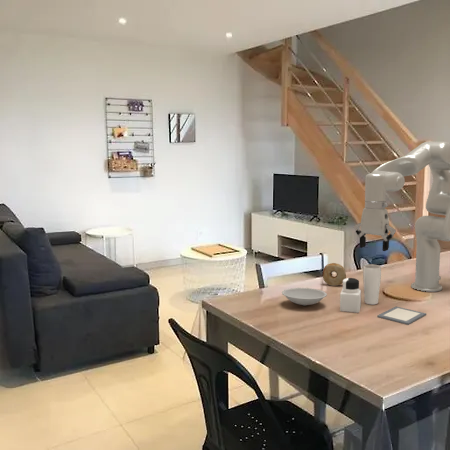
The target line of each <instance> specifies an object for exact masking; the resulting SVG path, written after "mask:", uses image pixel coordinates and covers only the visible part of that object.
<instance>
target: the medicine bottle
mask: <svg viewBox="0 0 450 450" xmlns="http://www.w3.org/2000/svg"><path fill="white" fill-rule="evenodd" d="M361 297H362V290H361V289H360V281H359V279H357V278H354V277H346V279H344V280H343V283H342V288H341V291H340V294H339V299H340V300H339V311H340V312H347V313H357V314H358V313H360V310H361V304H362V302H361V301H362V300H361V299H362V298H361Z"/></svg>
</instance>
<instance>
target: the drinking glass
mask: <svg viewBox="0 0 450 450" xmlns="http://www.w3.org/2000/svg"><path fill="white" fill-rule="evenodd" d="M362 268H363V270H362V271H363V272H362V276H363V277H362V279H363V295H364V300H363V301H364V303H365V304H367V305H378V303H379V295H380V287H381V279H382V278H381V277H382V267H381V265H379V264H378V265H377V264H364V265H363V267H362Z"/></svg>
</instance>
